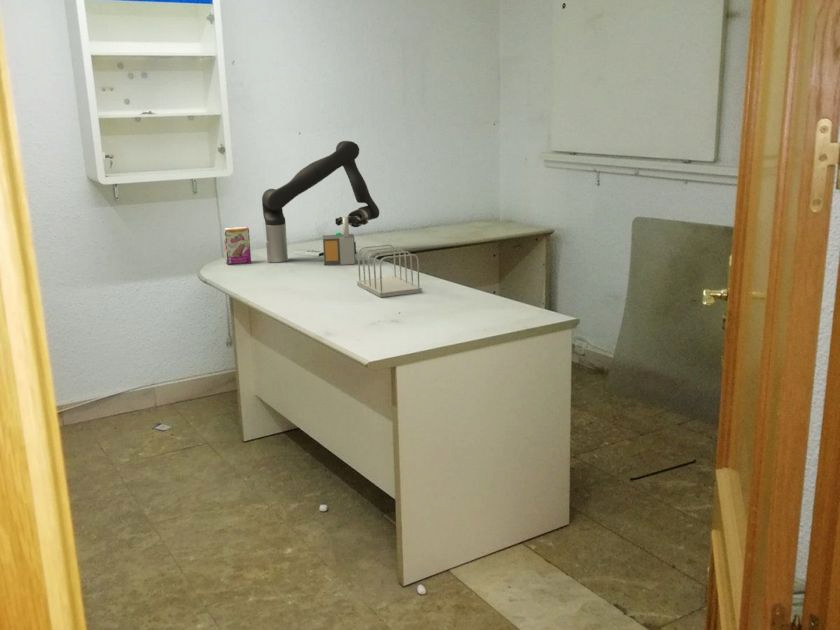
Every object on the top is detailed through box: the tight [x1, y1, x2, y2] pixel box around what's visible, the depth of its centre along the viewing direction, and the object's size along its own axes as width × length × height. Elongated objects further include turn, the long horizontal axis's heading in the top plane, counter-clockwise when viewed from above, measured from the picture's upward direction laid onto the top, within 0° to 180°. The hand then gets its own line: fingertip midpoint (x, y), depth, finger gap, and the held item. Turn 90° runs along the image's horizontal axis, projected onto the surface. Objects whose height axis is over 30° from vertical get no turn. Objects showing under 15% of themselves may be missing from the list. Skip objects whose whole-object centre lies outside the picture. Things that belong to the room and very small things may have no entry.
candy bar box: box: [222, 226, 252, 266], centre depth 378 cm, size 11×5×16 cm, turn 113°
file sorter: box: [356, 244, 423, 298], centre depth 320 cm, size 25×17×16 cm
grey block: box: [322, 233, 357, 266], centre depth 374 cm, size 15×10×12 cm
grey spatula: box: [339, 216, 356, 265], centre depth 368 cm, size 6×2×21 cm, turn 97°
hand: (346, 223), depth 367 cm, fingers open, 8 cm apart
